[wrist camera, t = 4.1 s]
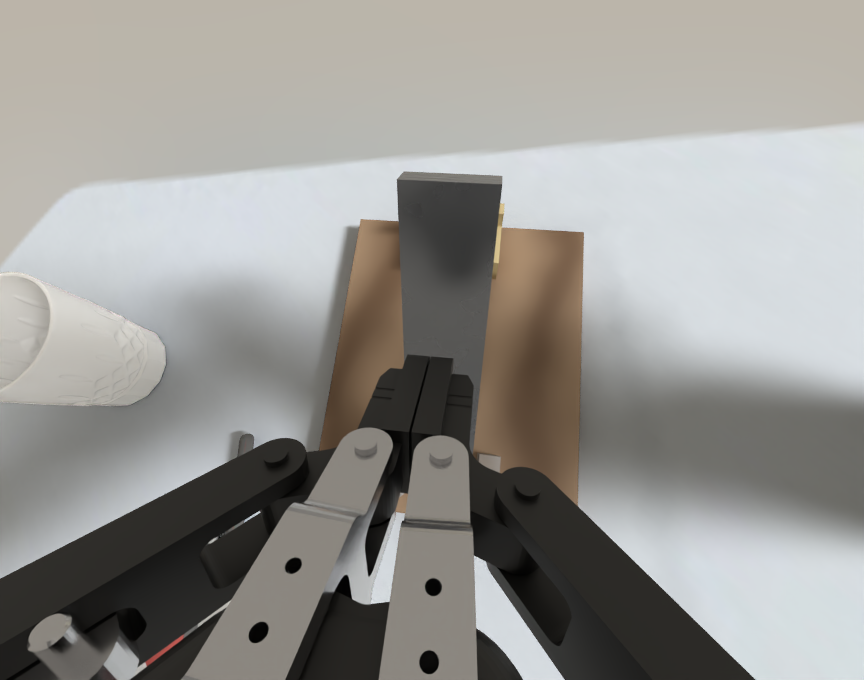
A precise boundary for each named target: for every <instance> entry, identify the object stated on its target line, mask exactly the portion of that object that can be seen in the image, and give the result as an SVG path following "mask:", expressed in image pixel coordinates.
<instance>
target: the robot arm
mask: <svg viewBox="0 0 864 680" xmlns="http://www.w3.org/2000/svg"><path fill="white" fill-rule="evenodd" d="M473 390H474V385H473V383H472V381H471V380H470V378H469V376H468V375H461V374H453V358H444V357H433V356H431V359H430V356H421V355H410V354H408V355H407V357H406V359H405V362H404V365H403V368H402V369H397V368H390V369H388V370H387V371H386V372H385V373H384V374H382V375H381V376H380V378H379V380H378V382H377V385H376V387H375V389H374V392H373V394H372V398H371V399H370V401H369V403H368V406H367V408H366V410H365V413H364V415H363V417H362V419H361V422H360V424H359V426H358V429H357V430H354V431H352V432H350V433H349V434H347V435H346V436H345V437H344V438H343V439H342V440H341V442H340V443H339V445H338V447H335V448H332V449H327V450H320V451H313V452H306V450H305V447H304V446H303V444H302V443H300V442H299V441H297V440H294V439H290V438H280V439H275V440H271V441H269V442H266V443H264V444H262V445H260V446H258V447H256V448H254V449H252V450H251V451H249V452H247V453H245V454H243V455H241V456H239V457H237V458H235V459H233V460H231V461H229V462H227V463H225V464H223V465H221V466H219V467H217V468H215V469H213V470H212V471H210V472H208V473H206V474H204V475H202V476H200V477H198V478H196V479H194V480H192V481H190V482H188V483H186V484H184V485H182V486H180V487H178V488H176V489H174V490H172V491H171V492H169V493H167V494H165V495H163V496H161V497H159V498H157V499H155V500H153V501H151V502H149V503H147V504H145V505H143V506H141V507H139V508H137V509H135V510H133V511H132V512H130V513H128V514H126V515H124V516H122V517H120V518H118V519H116V520H114V521H112V522H110V523H108V524H106V525H104V526H102V527H100V528H98V529H96V530H94V531H93V532H91V533H89V534H87V535H85V536H83V537H81V538H79V539H77V540H75V541H73V542H71V543H69V544H67V545H65V546H63V547H61V548H59V549H57V550H55V551H54V552H52V553H50V554H48V555H46V556H44V557H42V558H40V559H38V560H36V561H34V562H32V563H30V564H28V565H26V566H24V567H22V568H20V569H18V570H16V571H15V572H13V573H11V574H9V575H7V576H5V577H3V578H1V579H0V680H523V679H522V677H521V676H520V674H519V672H518V671H517V669H516V668H515V666H514V665H513V664H512V662H511V661H510V660H509V658H508V657H507V656H506V654H505V653H504V652H503V651H502V650H501V649H500V648H499V647H498V645H497V644H496V643H495V642H493V641H492V640H491V639H490V638H489V637H488V636H486V635H485V634H484V633H482V632H481V631H479V630H478V629H476V612H475V580H474V556H476V557H478V558H480V559H482V560H484V561H486V563H487V566H488V569H489V571H490V572H491V574H492V576H493V577H494V578H495V580H496V581H497V583H498V584H499V586H500V587H501V588H502V590H503V591H504V593H505V594H506V596H507V597H508V599H509V600H510V601H511V603H512V604H513V606H514V607H515V609H516V610H517V612H518V613H519V614H520V616H521V617H522V619H523V620H524V622H525V623H526V624H527V626H528V627H529V629H530V630H531V632H532V633H533V635H534V636H535V637H536V639H537V640H538V642H539V643H540V645H541V646H542V648H543V649H544V650H545V652H546V653H547V655H548V656H549V658H550V659H551V660H552V662H553V663H554V665H555V666H556V668H557V669H558V671H559V672H560V673H561V675H562V676H563V678H564V679H565V680H755V679H754V678H753V677H752V676H751V675H750V674H749V673H748V672H747V671H746V670H745V669H744V668H743V667H742V666H741V665H740V664H739V663H738V662H737V661H736V660H735V659H734V658H733V657H732V656H731V655H730V654H728V653H727V652H726V651H725V650H724V649H723V648H722V647H721V646H720V645H719V644H718V643H717V642H716V641H715V640H714V639H713V638H712V637H711V636H710V635H709V634H708V633H707V632H706V631H705V630H704V629H703V628H702V627H701V626H700V625H699V624H698V623H697V622H696V621H695V620H694V619H693V618H692V617H691V616H690V615H689V614H687V613H686V612H685V611H684V610H683V609H682V608H681V607H680V606H679V605H678V604H677V603H676V602H675V601H674V600H673V599H672V598H671V597H670V596H669V595H668V594H667V593H666V592H665V591H664V590H663V589H662V588H661V587H660V586H659V585H658V584H657V583H656V582H655V581H654V580H653V579H652V578H651V577H650V576H649V575H647V574H646V573H645V572H644V571H643V570H642V569H641V568H640V567H639V566H638V565H637V564H636V563H635V562H634V561H633V560H632V559H631V558H630V557H629V556H628V555H627V554H626V553H625V552H624V551H623V550H622V549H621V548H620V547H619V546H618V545H617V544H616V543H615V542H614V541H613V540H612V539H611V538H610V537H609V536H608V535H606V534H605V533H604V532H603V531H602V530H601V529H600V528H599V527H598V526H597V525H596V524H595V523H594V522H593V521H592V520H591V519H590V518H589V517H588V516H587V515H586V514H585V513H584V512H583V511H582V510H581V509H580V508H579V507H578V506H577V505H576V504H575V503H574V502H573V501H572V500H571V499H570V498H569V497H568V496H567V495H565V494H564V493H563V492H562V491H561V490H560V489H559V488H558V487H557V486H556V485H555V484H554V483H553V482H552V481H551V480H550V479H549V478H548V477H547V476H546V475H544V474H543V473H541V472H539V471H537V470H535V469H532V468H528V467H513V468H510V469H507V470H506V471H504V472H503V473H502V474H501V473H499V472H497V471H494V470H492V469H489V468H487V467H485V466H484V465H482V464H481V463H480V462H478V461H477V460H476V458H475V457H474V456H473V454H472V452H471V450H470V429H471V416H472V403H473ZM400 493H406V494H408V498H407V505H406V512H405V519H404V521H402V523H401V528H400V534H399V541H398V548H397V555H396V562H395V569H394V576H393V583H392V590H391V597H390V602H385V603H377V604H370V603H371V595H372V590H373V585H374V582H375V579H376V576H377V573H378V569H379V566H380V563H381V560H382V557H383V554H384V551H385V548H386V545H387V542H388V539H389V536H390V533H391V530H392V527H393V524H394V521H395V517H396V508H397V504H398V500H399V496H400ZM258 511H260V512H261V513H259V514H258V515H256V516H255V517H253V518H251V519H250V520H248V521H247V522H245V523H243V524H242V525H240V526H238V527H237V528H235V529H234V530H232V531H230V532H229V533H227V534H226V535H224V536H222V537H221V538H219V539H217V540H216V541H214V542H213V543H211V544H209V545H207V544H208V543H209V542H210V541H211V540H213V539H214V538H216V537H217V536H219V535H221V534H222V533H224V532H225V531H227V530H229V529H230V528H232V527H234V526H235V525H237V524H239V523H240V522H242V521H243V520H245V519H247V518H248V517H250V516H252V515H253V514H255V513H256V512H258ZM230 600H231V601H230ZM229 601H230V603H229V605H228V606H227V607H226V608H225V609H223V610H222V611H220V612H218V613H217V614H215V615H214V616H212V617H211V618H210V619H208V620H207V621H206V622H204V623H203V624H202V625H200V626H199V627H198V628H196V629H195V630H194V631H192V632H191V633H190V634H189V635H187V636H186V637H185V638H183V639H182V640H181V641H179V642H178V643H177V644H175V645H174V646H173V647H172V648H170V649H169V650H168V651H166V652H165V653H164V654H162V655H161V656H160V657H158V658H157V659H156V660H155V661H153V662H152V663H151V664H149V665H148V666H147V667H145V668H144V669H143V670H141V671H140V672H139V673H138V674H136V675H135V672H136V670H137V668H138V667H139V666H140V665H142V664H143V663H145V662H146V661H147V660H149V659H150V658H152V657H153V656H154V655H156V654H157V653H158V652H160V651H161V650H163V649H164V648H165V647H167V646H168V645H170V644H171V643H172V642H174V641H175V640H176V639H178V638H179V637H181V636H182V635H183V634H185V633H186V632H188V631H189V630H190V629H192V628H193V627H194V626H196V625H197V624H199V623H200V622H201V621H203V620H204V619H206V618H207V617H208V616H210V615H211V614H212V613H214V612H215V611H217V610H218V609H219V608H221V607H222V606H224V605H225V604H226V603H228V602H229ZM134 675H135V676H134Z"/></svg>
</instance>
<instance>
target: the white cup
mask: <svg viewBox="0 0 864 680" xmlns="http://www.w3.org/2000/svg"><path fill="white" fill-rule="evenodd" d="M165 366H166V353H165V346H164V344H163V343H162V341H161V340H160V338H159V337H158V335H157V334H156V333H154V332H152V331H150V330H148V329H146V328H143V327H141V326H139V325H137V324H134V323H132V322H130V321H128V320H127V319H126V318H125V317H123V316H120V315H118V314H116V313H114V312H112V311H110V310H107V309H105V308H102V307H100V306H98V305H96V304H94V303H92V302H90V301H88V300H85V299H83V298H80V297H78V296H76V295H73V294H71V293H69V292H66V291H64V290H62V289H60V288H57V287H55V286H53V285H50V284H48V283H46V282H44V281H41V280H39V279H37V278H34V277H32V276H30V275H27V274H24V273H19V272H3V273H0V402H5V403H22V404H39V405H69V406H71V405H75V406H92V405H100V406H125V405H131V404H133V403H135V402H137V401H139V400H141V399H143V398H145V397H146V396H148V394H149V393H150V392H151V391H152V390H153V389H154V388H155V386H156V385H157V384H158V383H159V382H160V380H161V377H162V374H163V372H164V369H165Z"/></svg>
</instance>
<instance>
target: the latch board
mask: <svg viewBox="0 0 864 680" xmlns="http://www.w3.org/2000/svg"><path fill="white" fill-rule="evenodd" d="M503 215H504V204H500V208H499V218H498V227H497V236H496V245H495V254H494V264H493V273H492V282H491V291H490V300H489V310H488V319H487V328H486V337H485V346H484V356H483V365H482V374H481V383H480V392H479V402H478V411H477V420H476V429H475V438H474V448H473V456H474V457H475V458H476V460H477V461H478V462H480V463H481V464H482V465H484V466H485V467H487V468H489V469H492V470H494V471H497V472H499V473H501V474H502V473H503V472H504V471H506V470H507V469H510V468H513V467H528V468H532V469H535V470H537V471H539V472H541V473H543V474H544V475H546V476H547V477H548V478H549V479H550V480H551V481H552V482H553V483H554V484H555V485H556V486H557V487H558V488H559V489H560V490H561V491H562V492H563V493H564V494H565V495H567V496H568V497H569V498H570V499H571V500H572V501H573V502H574V503H575V504H576V505H577V506H578V463H579V420H580V376H581V333H582V289H583V246H584V232H568V231H551V230H534V229H517V228H502V221H503ZM403 365H404V346H403V320H402V295H401V269H400V244H399V222H398V221H381V220H364V219H361V221H360V227H359V232H358V238H357V243H356V249H355V254H354V260H353V265H352V271H351V276H350V282H349V287H348V293H347V298H346V304H345V309H344V315H343V320H342V326H341V331H340V337H339V342H338V348H337V354H336V359H335V365H334V370H333V376H332V381H331V387H330V392H329V398H328V403H327V409H326V414H325V420H324V425H323V431H322V436H321V442H320V447H319V451H320V450H327V449H332V448H335V447H338V445H339V443H340V442H341V440H342V439H343V438H344V437H345V436H346V435H347V434H349V433H350V432H352V431H354V430H357V429H358V426H359V424H360V422H361V419H362V417H363V415H364V413H365V410H366V408H367V406H368V403H369V401H370V399H371V398H372V394H373V392H374V389H375V387H376V385H377V382H378V380H379V378H380V376H381V375H382V374H384V373H385V372H386V371H387V370H388V369H390V368H397V369H402V368H403ZM407 498H408V494H406V493H400V496H399V500H398V504H397V508H396V512H400V513H405V512H406V505H407Z"/></svg>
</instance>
